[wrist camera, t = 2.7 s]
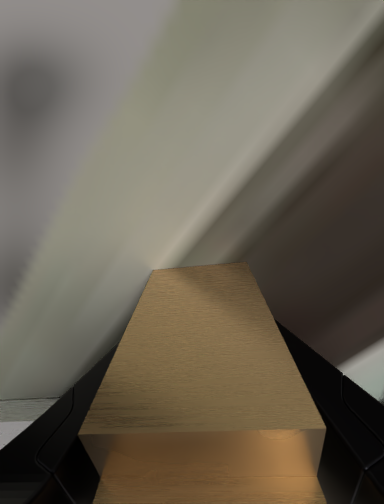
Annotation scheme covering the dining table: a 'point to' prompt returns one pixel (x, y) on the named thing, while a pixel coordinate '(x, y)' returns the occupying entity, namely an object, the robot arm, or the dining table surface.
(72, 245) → the dining table surface
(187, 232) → the dining table surface
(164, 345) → the block
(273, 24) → the dining table surface
